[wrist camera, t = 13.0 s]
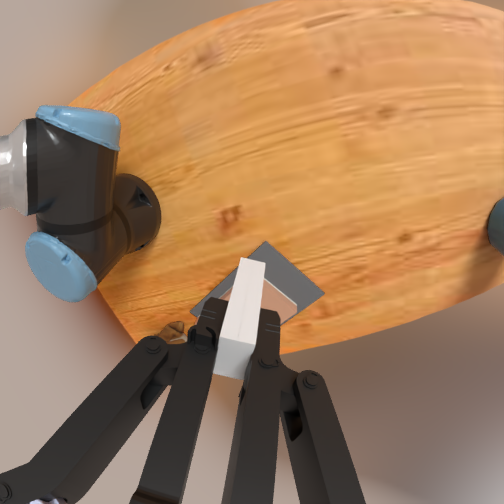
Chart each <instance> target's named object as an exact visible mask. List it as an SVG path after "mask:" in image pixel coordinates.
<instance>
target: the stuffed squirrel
mask: <svg viewBox="0 0 504 504" xmlns="http://www.w3.org/2000/svg"><path fill="white" fill-rule="evenodd" d="M183 331H184V323H183V322H181V321H177V322H173V323H170V324H167V325H166V326H165V328H164V329H163V330H162V331H161V333H160V334H157V335H154V336H158V337H161V338H162V339H164V340H165V341H166V343H167V344H181V343H185V342H186V341H187V336H186V335H185V334H184V333H183ZM138 342H139V341H138Z"/></svg>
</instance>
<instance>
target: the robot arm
mask: <svg viewBox="0 0 504 504" xmlns="http://www.w3.org/2000/svg"><path fill="white" fill-rule="evenodd" d="M120 130H121V123H120V120H119V118H118V117H117V116H116V115H114V114H112V113H109V112H104V111H99V110H93V109H86V108H78V107H69V106H48V105H43V106H40V107H39V108H38V110H37V112H36V118H32V119H25V120H22V121H21V122H20V124H19V125H18V126H17V127H16V128H15V130H14V131H13V132H12V133H11V134H9V135H4V136H0V209H4V208H8V207H13V208H15V209H17V210H18V211H19V212H20V213H22V214H23V215H24V216H28V215H31V214H36V220H37V232H34V233H32V234H31V236H30V238H29V239H28V241H27V242H26V246H25V251H26V258H27V261H28V264H29V266H30V268H31V270H32V272H33V273H34V275H35V276H36V278H37V279H38V281H39V282H40V283H41V284H42V285H43V286H44V287H45V288H46V289H47V290H48V291H49V292H50V293H52V294H53V295H55V296H56V297H58V298H60V299H62V300H64V301H68V302H79V301H81V300H83V299H84V298H86V297H87V296H88V295H89V293H91V292H92V291H94V290H95V289H96V288H97V285H98V284H99V283H100V282H101V281H102V279H103V278H104V277H105V276H106V275H107V274H108V273H109V272H110V270H111V269H112V268H113V267H114V266H115V265H116V264H117V263H118V262H119V261H120V260H121V258H122V257H123V256H124V255H126V254H129V253H132V252H134V251H137V250H140V249H142V248H144V247H145V246H146V245H148V244H149V243H150V242H151V240H152V239H153V238H154V237H155V236H156V234H157V232H158V230H159V227H160V223H161V210H160V205H159V202H158V199H157V197H156V195H155V193H154V192H153V190H152V189H151V188H150V187H149V186H148V184H146V183H145V182H144V181H143V180H141V179H140V178H138V177H136V176H134V175H131V174H117V175H116V169H117V160H118V152H119V151H120V147H119V139H120ZM265 264H266V263H264V262H260V261H255V260H251V259H247V258H243V257H241V260H240V263H239V267H238V271H237V274H236V278H235V281H234V285H233V289H232V292H231V296H230V300H229V301H227V300H223V299H218V298H214V297H210V298H209V299H208V300H207V301H205V303H204V306H203V309H202V311H201V314H200V317H199V319H198V322H197V324H196V325H194V326H192V327H190V329H189V330H188V336H187V341H186V342H185V343H181V344H167V343H166V341H165V340H164V339H162V338H161V337H158V336H147V337H144V338H143V339H141V340H140V341H139V342H138V343H137V344H136V345H135V347H134V348H133V349H132V350H131V351H130V352H129V353H128V354H127V355H126V356H125V357H124V358H123V359H122V360H121V361H120V363H118V365H117V366H116V367H115V368H114V369H113V370H112V371H111V372H110V373H109V374H108V375H107V376H106V378H104V380H103V381H102V382H101V383H100V384H99V385H98V386H97V387H96V388H95V389H94V391H92V393H91V394H90V395H89V396H88V397H87V398H86V399H85V400H84V401H83V402H82V404H81V405H80V406H79V407H78V408H77V409H76V410H75V411H74V412H73V413H72V414H71V416H70V417H69V418H68V419H67V420H66V421H65V422H64V423H63V425H62V426H61V427H60V428H59V429H58V430H57V431H56V432H55V434H54V435H53V436H52V437H51V438H50V439H49V440H48V441H47V443H46V444H45V445H44V446H43V447H42V448H41V449H40V450H39V452H38V453H37V454H36V455H35V456H34V457H33V458H32V460H31V461H30V462H29V463H27V464H24V465H22V466H19V467H17V468H14V469H12V470H9V471H7V472H4V473H1V474H0V504H75V503H76V502H78V501H79V500H80V499H81V498H82V497H83V496H84V495H85V494H86V493H87V492H88V490H89V489H90V488H91V486H92V485H93V484H94V483H95V481H96V480H97V479H98V478H99V476H100V475H101V474H102V472H103V471H104V470H105V468H106V467H107V466H108V464H109V463H110V462H111V461H112V459H113V458H114V457H115V455H116V454H117V453H118V451H119V450H120V449H121V447H122V446H123V445H124V443H125V442H126V441H127V439H128V438H129V437H130V435H131V434H132V433H133V431H134V430H135V429H136V427H137V426H138V425H139V423H140V422H141V421H142V419H143V418H144V417H145V415H146V414H147V413H148V411H149V410H150V409H151V407H152V406H153V405H154V403H155V402H156V400H157V399H158V398H159V397H160V395H161V394H162V393H163V391H164V390H165V388H166V387H167V386H168V385H172V386H171V389H170V392H169V395H168V398H167V400H166V403H165V406H164V409H163V412H162V415H161V418H160V421H159V424H158V427H157V430H156V432H155V435H154V438H153V441H152V445H151V447H150V450H149V454H148V456H147V460H146V463H145V466H144V469H143V472H142V475H141V478H140V482H139V485H138V488H137V490H136V491H135V493H134V494H133V496H132V498H131V500H130V503H129V504H181V503H182V499H183V495H184V490H185V486H186V482H187V478H188V473H189V469H190V465H191V461H192V457H193V453H194V449H195V445H196V441H197V436H198V432H199V428H200V424H201V420H202V416H203V412H204V408H205V404H206V400H207V396H208V392H209V388H210V383H211V379H212V374H213V373H214V374H219V375H223V376H227V377H232V378H236V379H241V380H243V379H244V382H243V386H242V388H241V391H240V394H239V397H240V399H239V405H238V411H237V417H236V423H235V429H234V436H233V441H232V446H231V452H230V458H229V464H228V469H227V475H226V481H225V487H224V492H223V498H222V503H221V504H273V493H274V483H275V472H276V460H277V446H278V430H279V415H280V417H281V421H282V426H283V430H284V435H285V439H286V444H287V448H288V452H289V457H290V461H291V466H292V470H293V474H294V479H295V483H296V488H297V492H298V496H299V500H300V504H366V503H365V500H364V496H363V493H362V490H361V487H360V484H359V481H358V478H357V474H356V471H355V468H354V465H353V462H352V459H351V456H350V453H349V450H348V447H347V444H346V441H345V438H344V435H343V432H342V430H341V426H340V423H339V421H338V418H337V415H336V412H335V409H334V406H333V403H332V400H331V398H330V395H329V392H328V389H327V386H326V384H325V381H324V379H323V377H322V376H321V375H320V374H318V373H317V372H315V371H311V370H305V371H302V372H301V373H298V372H295V371H293V370H291V369H289V368H287V367H286V366H285V365H284V364H283V363H282V361H281V359H280V355H279V350H280V323H281V318H280V316H279V314H278V312H277V311H273V310H268V309H264V308H260V306H261V298H262V289H263V281H264V273H265Z"/></svg>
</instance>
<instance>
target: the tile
mask: <svg viewBox="0 0 504 504" xmlns="http://www.w3.org/2000/svg"><path fill="white" fill-rule="evenodd" d="M232 289H233V286H232V287H231V288H230V289H228V290H227V291H226V292H225V293H224V294H223V295H222V296H221V297H219V298H218V299H223V300H227V301H229V300H230V296H231V292H232ZM260 308H264V309H268V310H273V311H277V312H278V314H279V316H280V318H281V323H283V322H284V321H286V320H287V319H289V318H290V317H291V316H293V315H294V314H296V313H297V304H296V303H295V302H293V301H292V300H291V299H290V298H288V297H287V296H286V295H285V294H283V293H282V292H281V291H280V290H279V289H277V288H276V287H275V286H274V285H272V284H271V283H270V282H269V281H268V280H266V279H265V278H264V281H263V289H262V298H261V306H260ZM199 317H200V315H199V316H198V317H197V320H196V323H195V325H196V324H197V322H198V319H199ZM281 323H280V324H281Z"/></svg>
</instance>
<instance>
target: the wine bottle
mask: <svg viewBox="0 0 504 504" xmlns="http://www.w3.org/2000/svg"><path fill="white" fill-rule="evenodd" d="M487 230H488V237H489V242H490V244H491V245H492V246H493V247H494V248H495V249H496V250H497V251H498V252H499V253H500V254H501V255H502V256H503V257H504V197H503V198H502V199H501V200H499V201H498V202H497V203H496V205H495V207H494V208H493V210H492V212H491V214H490V218H489V223H488V228H487Z"/></svg>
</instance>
